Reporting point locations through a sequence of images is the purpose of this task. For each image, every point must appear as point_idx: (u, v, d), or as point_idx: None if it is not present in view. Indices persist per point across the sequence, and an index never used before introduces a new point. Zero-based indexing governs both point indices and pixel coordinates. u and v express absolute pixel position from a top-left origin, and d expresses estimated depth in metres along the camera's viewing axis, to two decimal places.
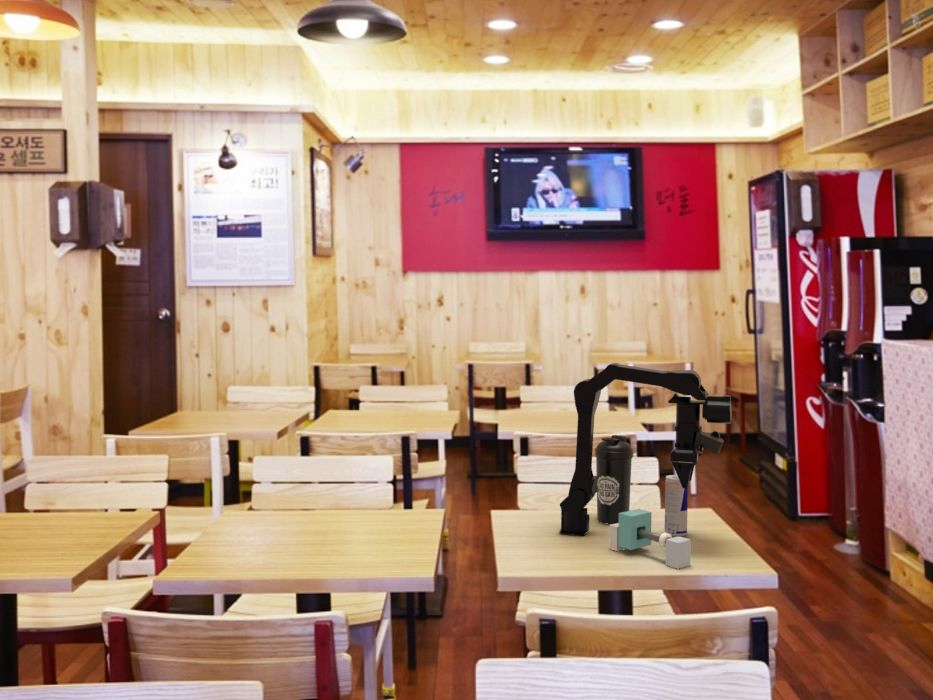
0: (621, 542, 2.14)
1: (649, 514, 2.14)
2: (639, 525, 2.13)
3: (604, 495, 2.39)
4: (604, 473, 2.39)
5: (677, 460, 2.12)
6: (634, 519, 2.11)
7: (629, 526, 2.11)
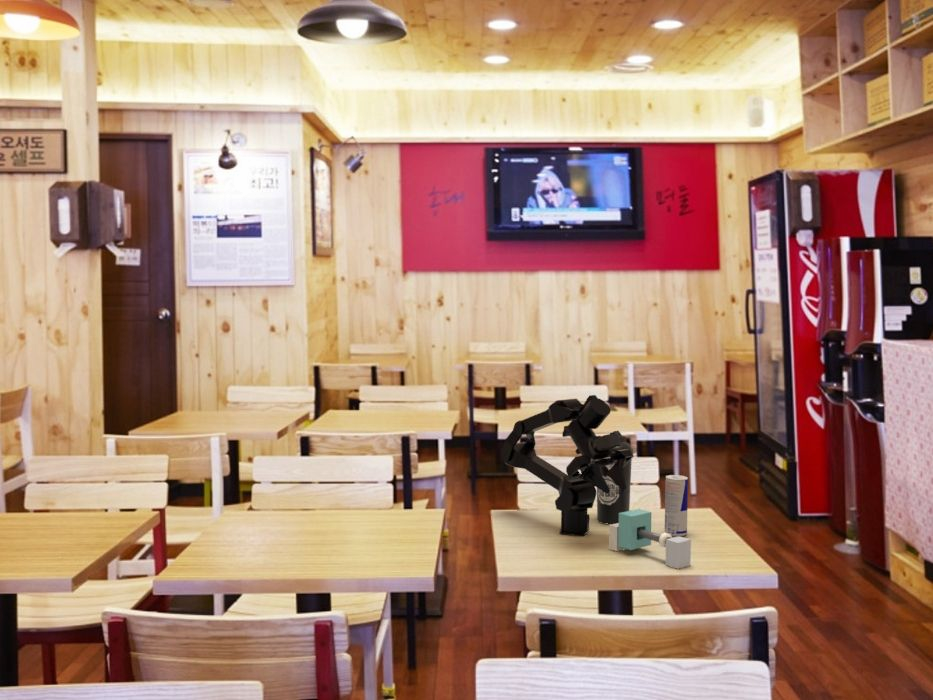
0: (621, 542, 2.14)
1: (649, 514, 2.14)
2: (639, 525, 2.13)
3: (604, 495, 2.39)
4: (604, 473, 2.39)
5: (571, 473, 2.18)
6: (634, 519, 2.11)
7: (629, 526, 2.11)
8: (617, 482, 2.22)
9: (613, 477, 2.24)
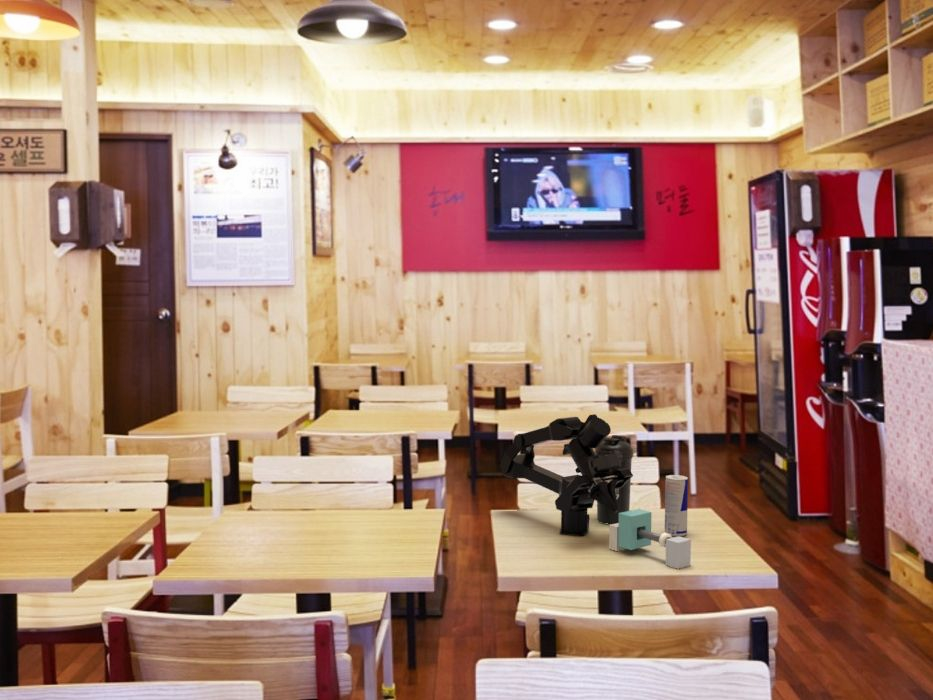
0: (621, 542, 2.14)
1: (649, 514, 2.14)
2: (639, 525, 2.13)
3: None
4: None
5: (570, 493, 2.18)
6: (634, 519, 2.11)
7: (629, 526, 2.11)
8: None
9: None
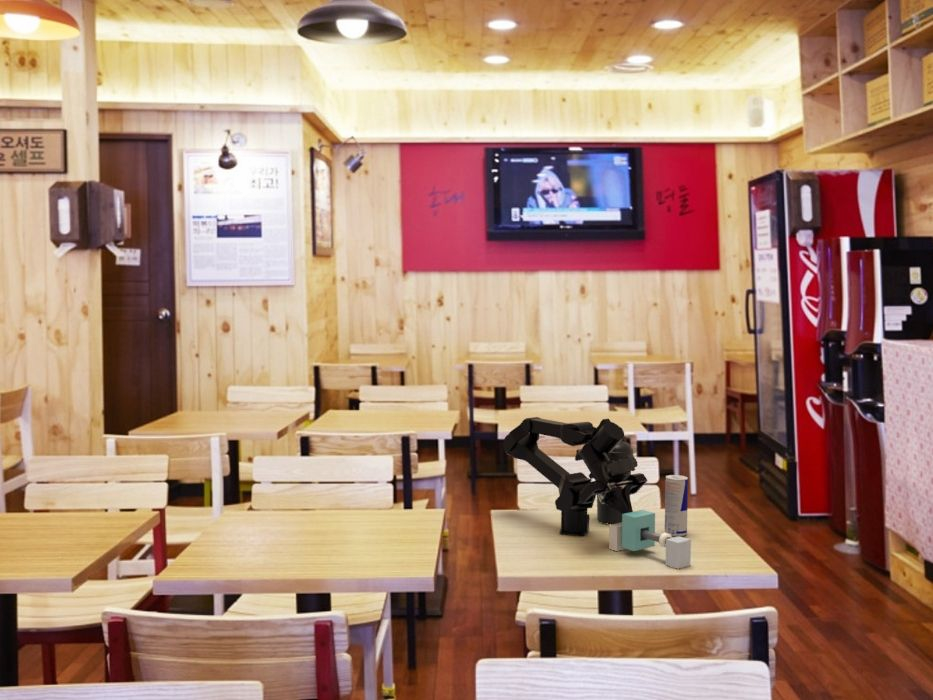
0: (624, 544, 2.13)
1: (653, 515, 2.14)
2: (643, 526, 2.12)
3: None
4: None
5: (585, 499, 2.15)
6: (637, 520, 2.10)
7: (633, 527, 2.10)
8: None
9: None
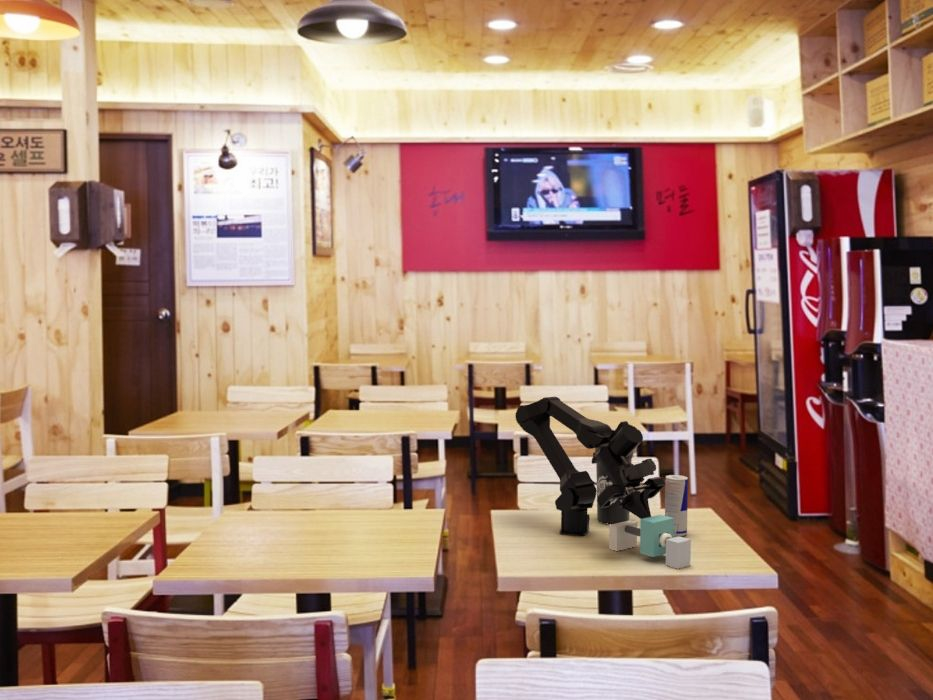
0: (643, 549, 2.08)
1: (671, 520, 2.09)
2: (661, 531, 2.07)
3: None
4: (604, 473, 2.39)
5: (602, 503, 2.10)
6: (656, 525, 2.06)
7: (651, 532, 2.06)
8: None
9: None
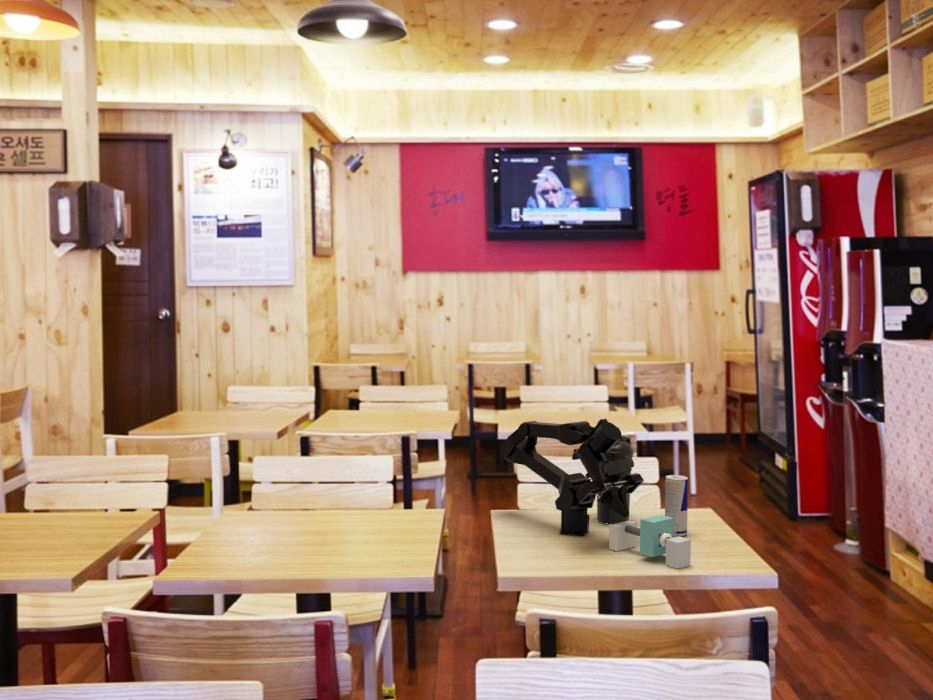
0: (642, 549, 2.08)
1: (671, 520, 2.09)
2: (661, 531, 2.07)
3: None
4: None
5: (581, 499, 2.16)
6: (656, 525, 2.06)
7: (651, 532, 2.06)
8: None
9: None
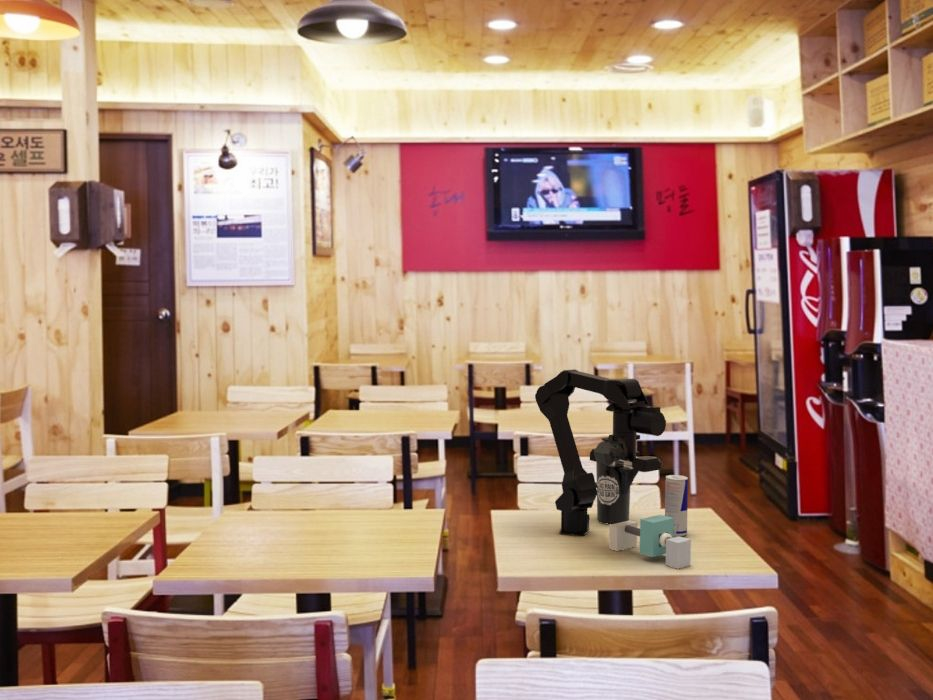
0: (642, 549, 2.08)
1: (671, 520, 2.09)
2: (661, 531, 2.07)
3: (604, 495, 2.39)
4: (604, 473, 2.39)
5: None
6: (656, 525, 2.06)
7: (651, 532, 2.06)
8: None
9: None
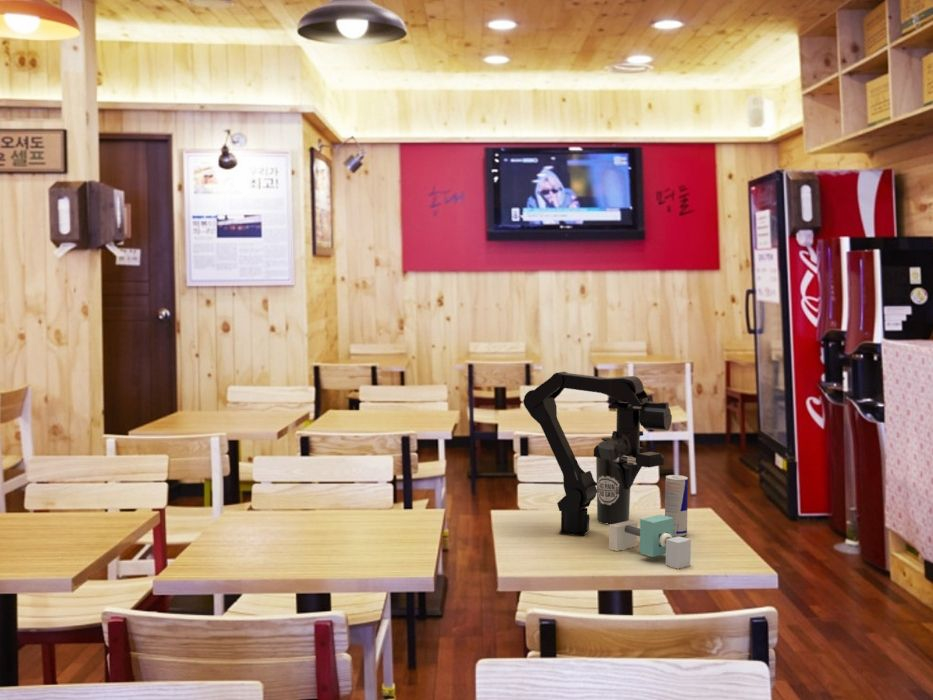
0: (642, 549, 2.08)
1: (671, 520, 2.09)
2: (661, 531, 2.07)
3: (604, 495, 2.39)
4: (604, 473, 2.39)
5: None
6: (656, 525, 2.06)
7: (651, 532, 2.06)
8: None
9: None
